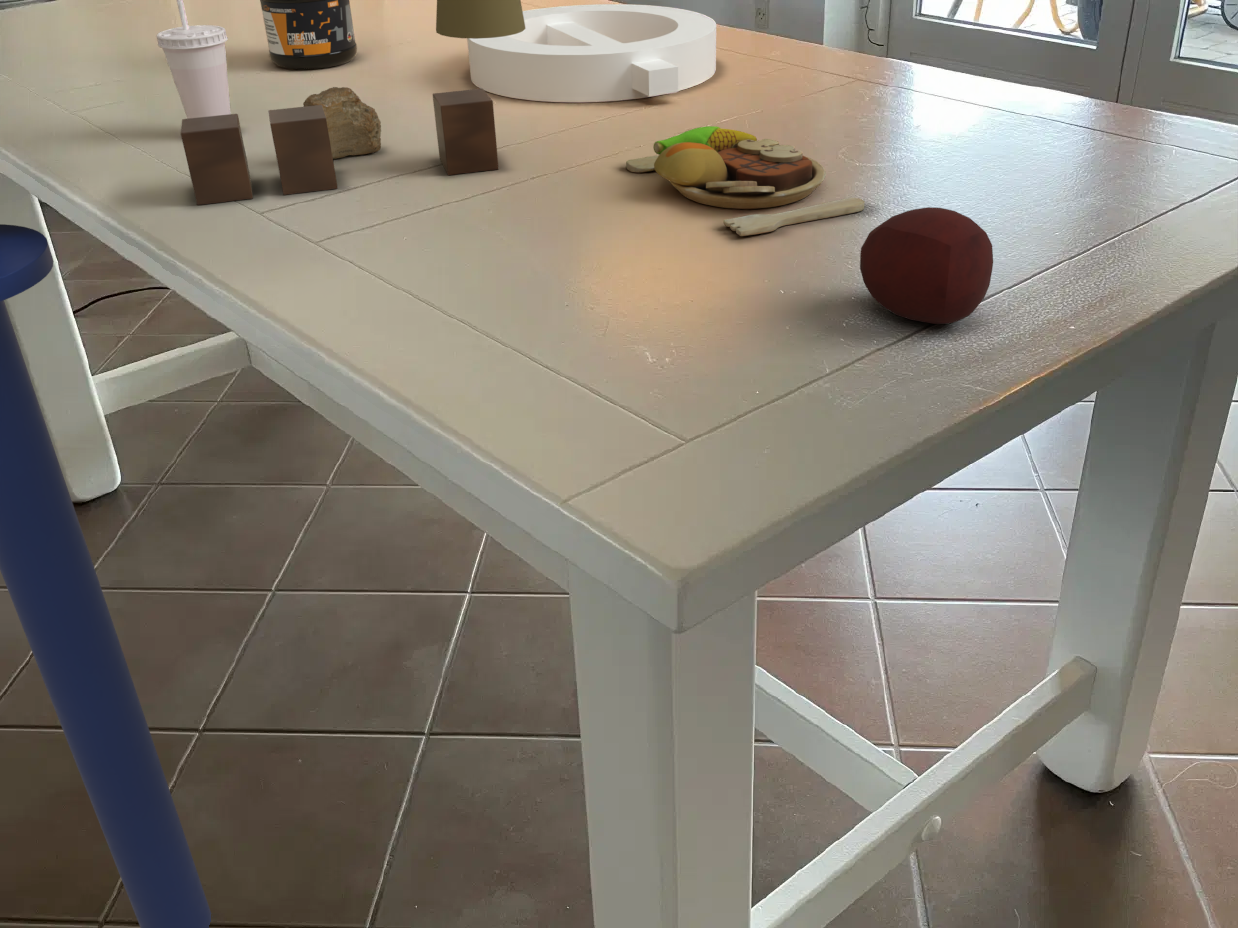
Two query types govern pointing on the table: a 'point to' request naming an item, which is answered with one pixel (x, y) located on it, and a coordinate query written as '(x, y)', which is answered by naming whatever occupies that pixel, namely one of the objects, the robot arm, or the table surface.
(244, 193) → the block
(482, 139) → the block
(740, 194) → the toy food set
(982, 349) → the table surface
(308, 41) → the supplement container
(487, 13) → the olive round-topped cone
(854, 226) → the table surface
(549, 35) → the white circle with bar
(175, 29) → the smoothie
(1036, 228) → the table surface
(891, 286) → the potato
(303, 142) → the block
